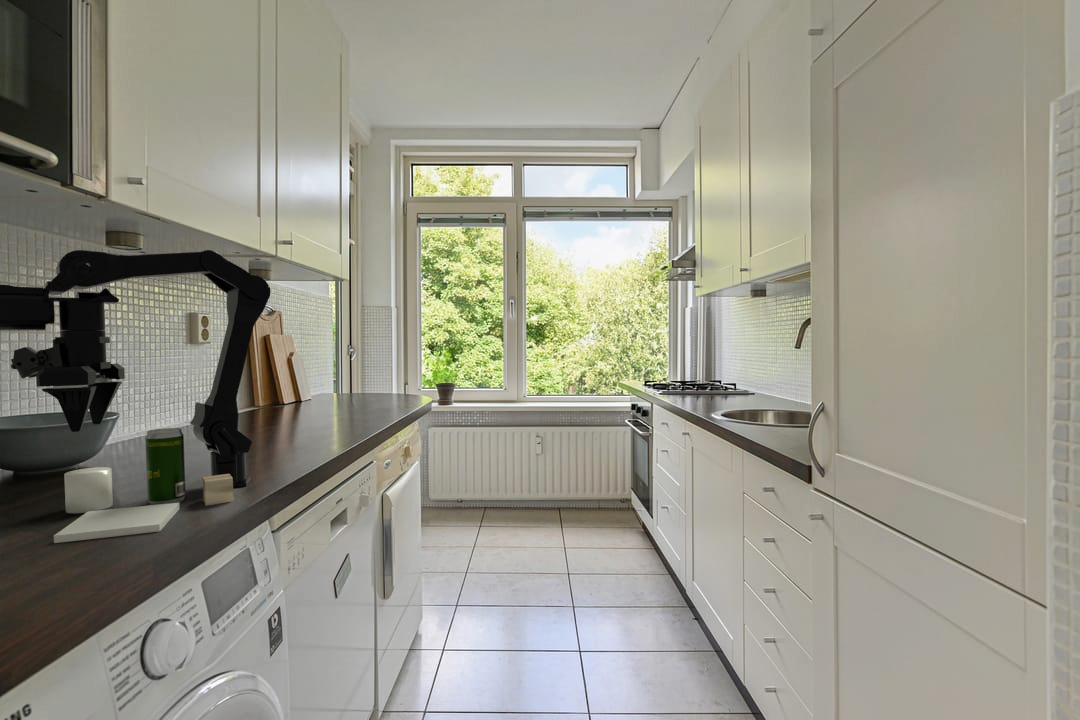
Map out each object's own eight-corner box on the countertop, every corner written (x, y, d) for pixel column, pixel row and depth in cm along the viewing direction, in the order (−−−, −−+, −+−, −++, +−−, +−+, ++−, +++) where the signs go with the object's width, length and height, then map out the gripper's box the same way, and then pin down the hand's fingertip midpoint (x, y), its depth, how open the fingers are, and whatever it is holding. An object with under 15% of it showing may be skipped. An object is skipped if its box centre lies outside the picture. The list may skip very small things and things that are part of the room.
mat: (88, 518, 88) (88, 511, 88) (179, 508, 92) (179, 502, 92) (53, 543, 76) (53, 535, 76) (159, 531, 81) (159, 524, 81)
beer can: (192, 496, 99) (189, 427, 99) (175, 505, 94) (172, 432, 94) (159, 497, 99) (156, 428, 98) (140, 506, 93) (137, 433, 93)
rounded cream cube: (74, 505, 95) (73, 469, 95) (117, 501, 97) (116, 465, 97) (59, 515, 90) (57, 476, 89) (105, 510, 92) (103, 473, 92)
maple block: (203, 500, 97) (202, 477, 97) (230, 496, 99) (229, 473, 99) (205, 506, 94) (205, 481, 94) (233, 501, 96) (232, 478, 96)
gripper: (45, 332, 98) (49, 423, 99) (-13, 329, 81) (-7, 440, 81) (123, 332, 102) (127, 419, 103) (84, 329, 85) (89, 434, 85)
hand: (86, 427), depth 93 cm, fingers open, 9 cm apart
